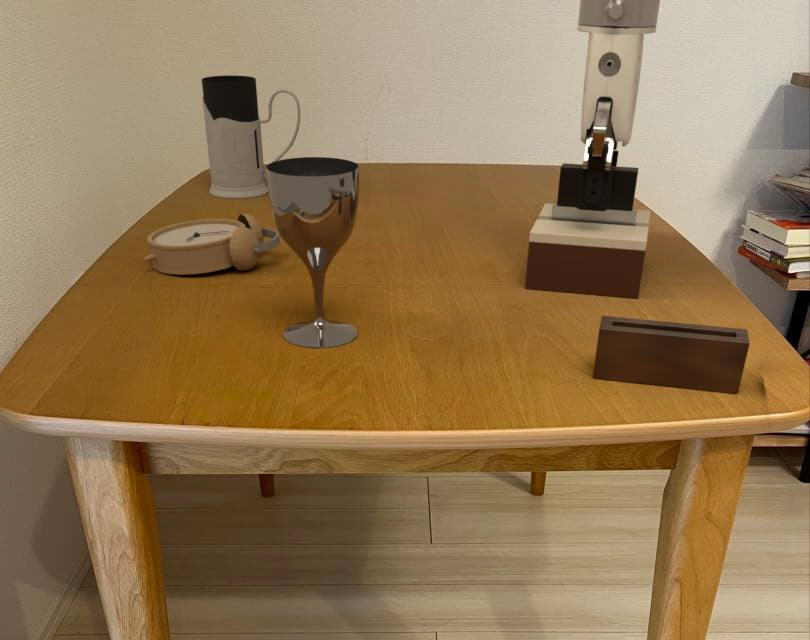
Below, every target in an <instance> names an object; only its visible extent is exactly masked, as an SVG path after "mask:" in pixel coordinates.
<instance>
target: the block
mask: <svg viewBox="0 0 810 640" xmlns="http://www.w3.org/2000/svg"><path fill="white" fill-rule="evenodd" d="M750 343H751V342H750V337H749V332H748V329H747V328H738V327H726V326H716V325H706V324H695V323H684V322H673V321H662V320H652V319H643V318H630V317H620V316H609V315H601V319H600V324H599V328H598V335H597V343H596V350H595V357H594V364H593V371H592V379H597V380H606V381H613V382H614V381H615V382H624V383H632V384H633V383H634V384H644V385H650V386H651V385H652V386H662V387H672V388H679V389H680V388H681V389H689V390H697V391H698V390H699V391H706V392H717V393H724V394H725V393H726V394H734V395H735V394H736V395H738V394H739V390H740V386H741V383H742V378H743V373H744V370H745V365H746V361H747V357H748V352H749V348H750Z"/></svg>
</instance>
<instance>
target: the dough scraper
mask: <svg viewBox="0 0 810 640" xmlns="http://www.w3.org/2000/svg"><path fill="white" fill-rule="evenodd" d="M581 167H583V163H582V164H581V163H565V162H563V163H562V164H561V165H560V169H559V181H558V188H557V189H558V191H557V201H556V203H552V204H553V209H552V219H551V220H557V221H571V222H585V223H598V224H612V225H626V226H635V221H636V215H637V210H638V208H634V203H635V195H636V188H637V182H638V175H639V167H633V166H632V167H631V166H611V168H610V169H613V174H612V181H611V189H610V196H609V204H608V209H607V210H606V211H592V210H579V209H577V207H576V204H577V195H578V187H579V178H580V169H581Z"/></svg>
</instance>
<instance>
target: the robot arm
mask: <svg viewBox="0 0 810 640" xmlns="http://www.w3.org/2000/svg"><path fill="white" fill-rule="evenodd" d="M660 4H661V0H580V1H579V9H578V11H579V12H578V20H577V29H576V30H577V31H578V32H582V33H588V41H587V50H586V58H585V59H586V60H585V67H584V68H585V70H584V78H583V79H584V80H583V90H582V101H581V120H580V141H581V142H582V143H583V145H585V148H584V154H583V160H582V164H583V167H581V169H580V178H579V187H578V195H577V204H576V207H577V209H579V210H592V211H606V210H607V209H608V204H609V196H610V189H611V181H612V174H613V169H610V168H611V166H616V167H618V159H619V150H617V149H618V143H619V142H621V147H626V146H628V145H629V144H630V141H631V138H632V134H633V128H634V120H635V113H636V107H637V100H638V99H637V98H638V93H639V86H640V78H641V70H642V61H643V52H644V51H643V50H644V36H645V35H647V34H649V35H650V34H655V33H656V32H657V24H658V18H659V10H660Z"/></svg>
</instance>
